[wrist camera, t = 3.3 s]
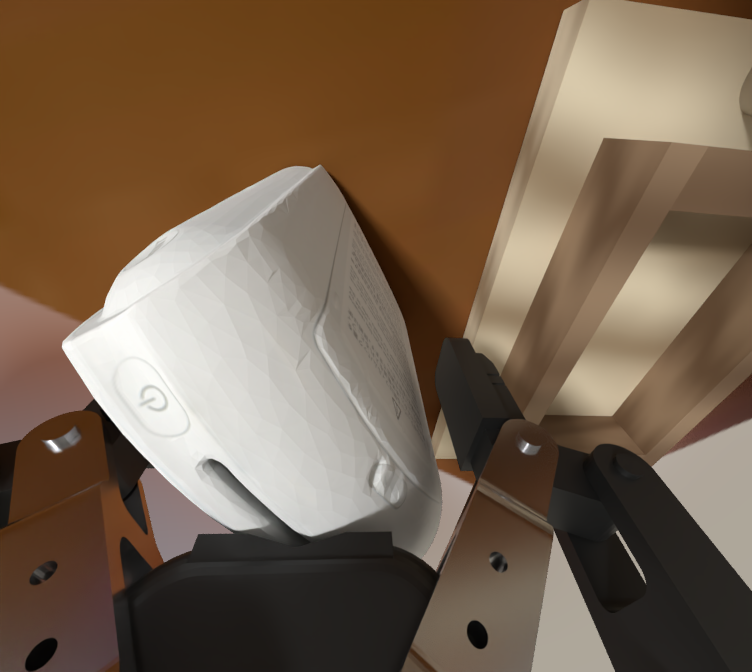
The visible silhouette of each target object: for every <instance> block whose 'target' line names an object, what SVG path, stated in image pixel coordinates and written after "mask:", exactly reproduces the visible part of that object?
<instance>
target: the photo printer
mask: <svg viewBox="0 0 752 672" xmlns="http://www.w3.org/2000/svg"><path fill="white" fill-rule="evenodd" d="M62 349H63V350H64V352H65V353H66V355H67V357H68V358H69V360H70V361H71V363H72V365H73V366H74V368H75V369H76V371H77V372H78V373H79V375H80V377H81V378H82V380H83V381H84V383H85V385H86V386H87V388H88V389H89V391H90V392H91V394H92V395H93V397H94V398H95V400H96V401H97V402H98V404H99V405H100V406H101V407H102V409H103V410H104V411H105V412H106V414H107V415H108V416H109V417H110V419H111V420H112V421H113V422H114V424H115V425H116V426H117V427H118V429H119V430H120V431H121V432H122V434H123V435H124V436H125V437H126V438H127V439H128V440H129V441H130V442H131V443H132V445H133V446H134V447H135V448H136V449H137V450H138V451H139V452H140V453H141V454H142V455H143V456H144V457H145V458H146V459H147V460H148V461H149V462H150V463H151V464H152V465H153V466H154V467H155V468H156V469H157V470H158V471H159V472H160V473H161V474H162V475H163V476H164V477H165V478H166V479H167V480H168V481H169V482H170V483H171V484H172V485H173V486H174V487H176V488H177V489H178V490H179V491H180V492H181V493H182V494H183V495H185V496H186V497H187V498H188V499H189V500H190V501H192V502H193V503H194V504H195V505H196V506H198V507H199V508H200V509H201V510H203V511H204V512H205V513H206V514H207V515H209V516H210V517H211V518H212V519H214V520H215V521H217V522H218V523H220V524H221V525H223V526H224V527H225V528H227V529H228V530H230V531H231V532H233V533H234V534H251V535H255V536H258V537H261V538H265V539H268V540H271V541H275V542H278V543H282V544H285V545H288V546H293V547H298V546H302V545H306V544H309V543H312V542H315V541H319V540H322V539H325V538H328V537H332V536H335V535H338V534H342V533H345V532H390V531H392V542H393V546H396V547H399V548H402V549H404V550H406V551H408V552H411V553H412V554H414V555H416V556H417V557H419V558H420V559H422V557H423V556H424V555H425V554H426V552H427V551H428V549H429V548H430V546H431V544H432V542H433V540H434V538H435V535H436V533H437V530H438V527H439V523H440V518H441V511H442V490H441V482H440V478H439V473H438V468H437V464H436V459H435V455H434V451H433V446H432V442H431V437H430V433H429V428H428V424H427V420H426V415H425V411H424V406H423V401H422V397H421V392H420V388H419V383H418V379H417V374H416V370H415V365H414V361H413V356H412V351H411V347H410V342H409V338H408V333H407V329H406V325H405V321H404V319H403V316H402V313H401V311H400V309H399V307H398V304H397V302H396V300H395V298H394V296H393V293H392V291H391V289H390V287H389V285H388V283H387V280H386V278H385V276H384V274H383V272H382V270H381V268H380V266H379V264H378V262H377V260H376V258H375V256H374V254H373V252H372V250H371V248H370V246H369V244H368V242H367V240H366V238H365V236H364V234H363V232H362V230H361V228H360V227H359V225H358V223H357V221H356V219H355V217H354V215H353V213H352V212H351V210H350V208H349V206H348V204H347V202H346V201H345V199H344V197H343V195H342V193H341V192H340V190H339V188H338V187H337V185H336V184H335V182H334V181H333V180H332V178H331V177H330V175H329V174H328V173H327V172H326V170H325V169H324V168H323V167H322V166H321V165H318V166H317V167H316V168H314V169H312V168H309V167H302V166H294V167H289V168H285V169H283V170H281V171H279V172H276V173H274V174H273V175H271V176H269V177H267V178H265V179H263V180H262V181H260V182H258V183H256V184H254V185H252V186H250V187H248V188H246V189H244V190H242V191H241V192H239V193H237V194H235V195H233V196H231V197H229V198H228V199H226V200H224V201H222V202H220V203H219V204H217V205H215V206H213V207H212V208H210V209H208V210H206V211H204V212H202V213H200V214H198V215H196V216H195V217H193V218H191V219H189V220H187V221H185V222H184V223H182V224H180V225H178V226H176V227H175V228H173V229H171V230H169V231H168V232H166V233H165V234H163V235H162V236H160V237H159V238H158V239H156V240H155V241H154V242H153V243H151V244H150V245H149V246H148V247H147V248H145V249H144V250H143V251H142V252H141V253H139V254H138V255H137V256H136V257H135V258H134V259H133V260H132V261H131V262H130V263H129V264H128V265H127V266H126V267H125V268H124V269H123V270H122V271H121V272H120V273H119V275H118V276H117V278H116V279H115V281H114V283H113V285H112V287H111V289H110V291H109V293H108V295H107V297H106V301H105V305H104V308H102V309H101V310H99V311H98V312H97V313H95V314H94V315H93V316H91V317H90V318H89V319H88V320H86V321H85V322H84V323H82V324H81V325H80V326H79V327H78V328H77V329H75V330H74V331H73V332H72V333H71V334H70V335H69V336H68V337H67V338H66V339H65V340H64V341H63V344H62Z"/></svg>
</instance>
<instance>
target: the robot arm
mask: <svg viewBox="0 0 752 672" xmlns="http://www.w3.org/2000/svg"><path fill="white" fill-rule="evenodd" d="M499 375H500V374H499V372H498V370H497V369H496V367H495V365H494V363H493V362H492V361H490V360H489V359H488V358H487V357H486V356H485V355H483V354H482V353H476V352H475V350H474V348H473V347H472V345H471V343H470V341H469V339H467V338H445V339H444V341H443V344H442V348H441V352H440V356H439V360H438V364H437V368H436V372H435V386H436V390H437V394H438V397H439V400H440V404H441V407H442V410H443V414H444V417H445V420H446V424H447V427H448V430H449V434H450V437H451V441H452V444H453V447H454V451H455V454H456V457H457V461H458V464H459V467H460V471H474V474H475V477H476V481H475V483H474V485H473V487H472V490H471V492H470V495H469V497H468V499H467V502H466V504H465V506H464V508H463V511H462V513H461V515H460V517H459V520H458V522H457V525H456V527H455V529H454V531H453V534H452V536H451V538H450V540H449V543H448V545H447V547H446V549H445V551H444V554H443V556H442V558H441V560H440V562H439V565H438V567H437V569H436V571H435V570H434V569H433V568H432V567H430V566H429V565H428V564H427V563H426V562H424V561H423V560H422V559H420V558H419V557H417V556H416V555H414V554H412V553H411V552H408V551H406V550H404V549H402V548H399V547H396V546H393V542H392V531H390V532H345V533H342V534H338V535H335V536H332V537H328V538H325V539H322V540H319V541H315V542H312V543H309V544H306V545H302V546H298V547H293V546H288V545H285V544H282V543H278V542H275V541H271V540H268V539H265V538H261V537H258V536H255V535H251V534H198V537H197V539H196V542H195V544H194V547H193V549H192V551H189V552H186V553H184V554H181V555H179V556H176V557H174V558H172V559H170V560H168V561H167V562H165V563H164V561H163V558H162V556H161V554H160V552H159V550H158V547H157V544H156V541H155V538H154V533H153V529H152V524H151V520H150V515H149V511H148V507H147V502H146V498H145V493H144V489H143V485H142V482H141V480H140V479H139V478H140V477H141V475H142V474H143V472H144V470H145V469H146V468H155V467H154V466H153V465H152V464H151V463H150V462H149V461H148V460H147V459H146V458H145V457H144V456H143V455H142V454H141V453H140V452H139V451H138V450H137V449H136V448H135V447H134V446H133V445H132V443H131V442H130V441H129V440H128V439H127V438H126V437H125V436H124V435H123V434H122V432H121V431H120V430H119V429H118V427H117V426H116V425H115V424H114V422H113V421H112V420H111V419H110V417H109V416H108V415H107V414H106V412H105V411H104V410H103V409H102V407H101V406H100V405H99V404H98V402H97V401H96V400H95V398H94V400H93V401H92V402H91V403H90V404H89V405H88V406H87V407H86V408H85V409H84V410H83V411H74V412H69V413H65V414H62V415H59V416H57V417H54V418H52V419H49V420H48V421H45V422H44V423H42V424H40V425H39V426H37V427H36V428H34V429H33V430H31V431H30V432H29V433H28V434H27V435H26V436H25V437H24V438H23V439H22V440H18V441H13V442H9V443H4V444H0V672H531V669H532V662H533V657H534V651H535V645H536V638H537V633H538V627H539V621H540V614H541V609H542V603H543V597H544V590H545V584H546V578H547V572H548V566H549V560H550V554H551V548H552V542H553V529H554V531H555V533H556V536H557V538H558V541H559V543H560V545H561V547H562V550H563V552H564V554H565V557H566V559H567V561H568V564H569V566H570V568H571V571H572V573H573V575H574V578H575V580H576V582H577V584H578V587H579V589H580V591H581V594H582V596H583V598H584V601H585V603H586V605H587V607H588V610H589V612H590V614H591V617H592V619H593V621H594V623H595V626H596V628H597V630H598V633H599V635H600V637H601V640H602V642H603V644H604V647H605V649H606V651H607V654H608V656H609V658H610V660H611V663H612V665H613V667H614V669H615V672H752V591H751V590H750V588H749V587H748V586H747V585H746V584H745V582H744V581H743V580H742V579H741V577H740V576H739V575H738V574H737V572H736V571H735V570H734V569H733V568H732V566H731V565H730V564H729V563H728V561H727V560H726V559H725V557H724V556H723V555H722V554H721V553H720V551H719V550H718V549H717V548H716V546H715V545H714V544H713V543H712V541H711V540H710V539H709V538H708V536H707V535H706V534H705V533H704V531H703V530H702V529H701V528H700V527H699V525H698V524H697V523H696V522H695V520H694V519H693V518H692V517H691V515H690V514H689V513H688V512H687V510H686V509H685V508H684V507H683V506H682V504H681V503H680V502H679V501H678V499H677V498H676V497H675V496H674V494H673V493H672V492H671V491H670V489H669V488H668V487H667V486H666V484H665V483H664V482H663V481H662V480H661V478H660V477H659V476H658V475H657V473H656V472H655V471H654V470H653V468H652V467H651V466H650V465H649V464H648V463H647V462H646V461H644V460H643V459H642V458H641V457H639V456H638V455H636V454H635V453H633V452H631V451H630V450H628V449H626V448H623V447H621V446H618V445H614V444H600V445H598V446H596V447H595V449H594V450H593V451H592V452H591V454H588V453H584V452H581V451H577V450H574V449H570V448H567V447H563V446H560V445H557V444H556V442H555V440H554V439H553V438H552V436H551V435H550V434H549V433H548V432H547V431H546V430H544V429H543V428H542V427H540V426H538V425H537V424H535V423H532V422H530V421H527V420H526V419H525V417H524V416H523V414H522V412H521V410H520V409H519V407H518V405H517V403H516V402H515V400H514V398H513V396H512V395H511V393H510V391H509V390H508V388H507V386H505V383H504V381H503V379H502V377H501V376H499ZM617 530H618V531H619V532H620V534H621V535H622V537H623V539H624V541H625V542H626V544H627V546H628V548H629V549H630V551H631V553H632V554H633V556H634V557H635V559H636V561H637V563H638V564H639V566H640V568H641V569H642V572H643V574H644V576H645V580H646V584H645V582H644V580H643V578H642V577H641V576H640V573H639V572H638V570H637V568H636V566H635V565H634V563H633V561H632V560H631V558H630V556H629V554H628V553H627V551H626V549H625V548H624V546H623V544H622V543H621V541H620V539H619V537H618V536H617V534H616V531H617Z"/></svg>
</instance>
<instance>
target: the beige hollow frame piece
mask: <svg viewBox="0 0 752 672" xmlns="http://www.w3.org/2000/svg"><path fill="white" fill-rule="evenodd" d="M463 338H467V339H469V341H470V343H471V345H472V347H473V348H474V350H475V352H476V353H482V354H483V355H485V356H486V357H487V358H488V359H489V360H490V361H492V362H493V363H494V365H495V367H496V369H497V370H498V372H499V374H500V375H499V376H501V377H502V379H503V381H504V383H505V386H507V388H508V390H509V391H510V393H511V395H512V396H513V398H514V400H515V402H516V403H517V405H518V407H519V409H520V410H521V412H522V414H523V416H524V417H525V419H526V420H527V421H530V422H532V423H535V424H537V425H538V426H540V427H542V428H543V429H544V430H546V431H547V432H548V433H549V434H550V435H551V436H552V438H553V439H554V440H555V442H556V444H557V445H560V446H563V447H567V448H570V449H574V450H577V451H581V452H584V453H588V454H591V452H592V451H593V450H594V449H595V447H596V446H598V445H600V444H614V445H618V446H621V447H623V448H626V449H628V450H630V451H631V452H633V453H635V454H636V455H638V456H639V457H641V458H642V459H643V460H644V461H646V462H647V463H648V464H649V465H650V466H651V467H652V466H653V465H654V464H655V463H656V462H657V461H658V460H659V459H660V458H661V457H662V456H664V455H665V454H666V453H667V452H668V451H669V450H670V449H671V448H672V447H673V446H674V445H675V444H676V443H678V442H679V441H680V440H681V439H682V438H683V437H684V436H685V435H686V434H687V433H688V432H689V431H690V430H692V429H693V428H694V427H695V426H696V425H697V424H698V423H699V422H700V421H701V420H702V419H703V418H704V417H706V416H707V415H708V414H709V413H710V412H711V411H712V410H713V409H714V408H715V407H716V406H717V405H718V404H720V403H721V402H722V401H723V400H724V399H725V398H726V397H727V396H728V395H729V394H730V393H731V392H732V391H734V390H735V389H736V388H737V387H738V386H739V385H740V384H741V383H742V382H743V381H744V380H745V379H746V378H748V377H749V376H750V375H751V374H752V20H751V19H744V18H737V17H731V16H724V15H717V14H711V13H704V12H697V11H691V10H684V9H677V8H671V7H664V6H657V5H651V4H644V3H638V2H631V1H624V0H582V1H580V2H578V3H577V4H575V5H573V6H571V7H569V8H567V9H566V10H564V11H563V14H562V18H561V21H560V24H559V27H558V31H557V34H556V37H555V40H554V44H553V47H552V50H551V53H550V57H549V60H548V63H547V66H546V70H545V73H544V76H543V79H542V83H541V86H540V89H539V92H538V96H537V99H536V102H535V105H534V109H533V112H532V115H531V118H530V122H529V125H528V128H527V131H526V134H525V138H524V141H523V144H522V147H521V151H520V154H519V157H518V160H517V164H516V167H515V170H514V173H513V177H512V180H511V183H510V186H509V190H508V193H507V196H506V199H505V203H504V206H503V209H502V212H501V216H500V219H499V222H498V225H497V229H496V232H495V235H494V238H493V242H492V245H491V248H490V251H489V255H488V258H487V261H486V264H485V268H484V271H483V274H482V277H481V280H480V284H479V287H478V290H477V293H476V297H475V300H474V303H473V306H472V310H471V313H470V316H469V319H468V323H467V326H466V329H465V332H464V336H463ZM431 442H432V446H433V451H434V455H435V459H457V457H456V454H455V451H454V447H453V444H452V441H451V437H450V434H449V430H448V427H447V424H446V420H445V417H444V414H443V410H442V407H441V410H440V414H439V417H438V420H437V423H436V426H435V430H434V433H433V436H432V439H431Z"/></svg>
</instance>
